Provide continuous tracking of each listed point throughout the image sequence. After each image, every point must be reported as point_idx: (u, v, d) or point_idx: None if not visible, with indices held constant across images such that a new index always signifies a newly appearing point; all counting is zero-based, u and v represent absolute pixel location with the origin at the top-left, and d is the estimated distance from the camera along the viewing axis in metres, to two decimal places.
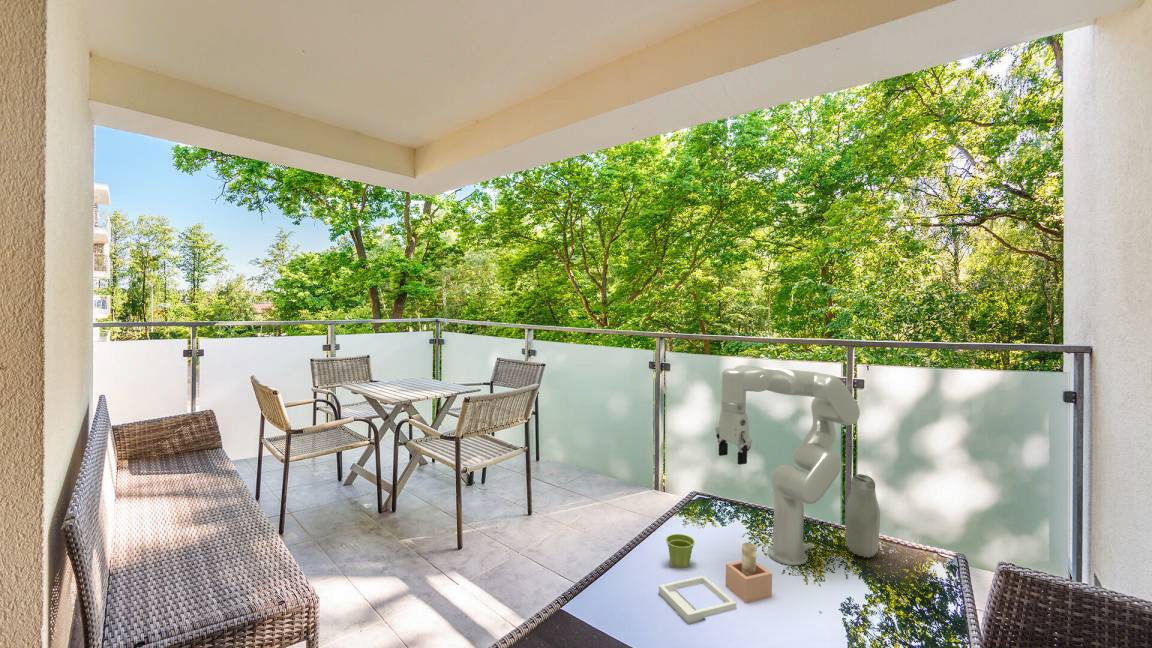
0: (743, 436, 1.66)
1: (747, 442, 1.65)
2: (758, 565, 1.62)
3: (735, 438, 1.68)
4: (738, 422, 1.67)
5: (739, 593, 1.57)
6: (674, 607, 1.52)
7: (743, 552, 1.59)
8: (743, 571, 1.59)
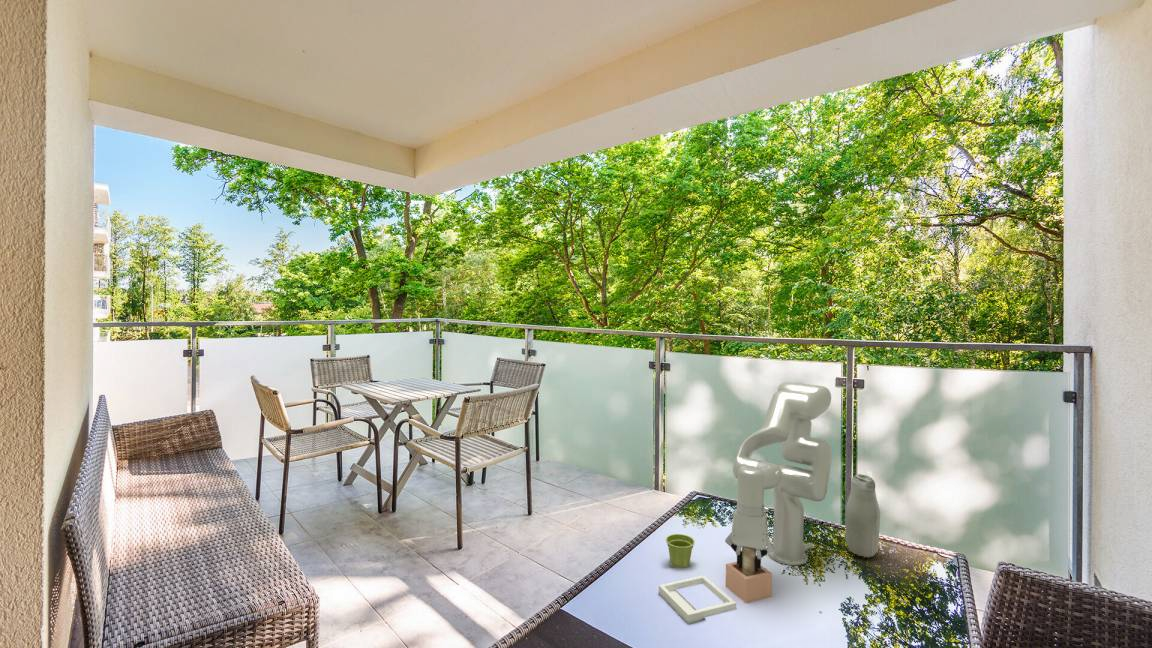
0: (769, 545, 1.56)
1: (770, 549, 1.56)
2: None
3: (762, 543, 1.56)
4: (765, 525, 1.56)
5: (739, 593, 1.57)
6: (674, 607, 1.52)
7: (743, 552, 1.59)
8: (743, 571, 1.59)
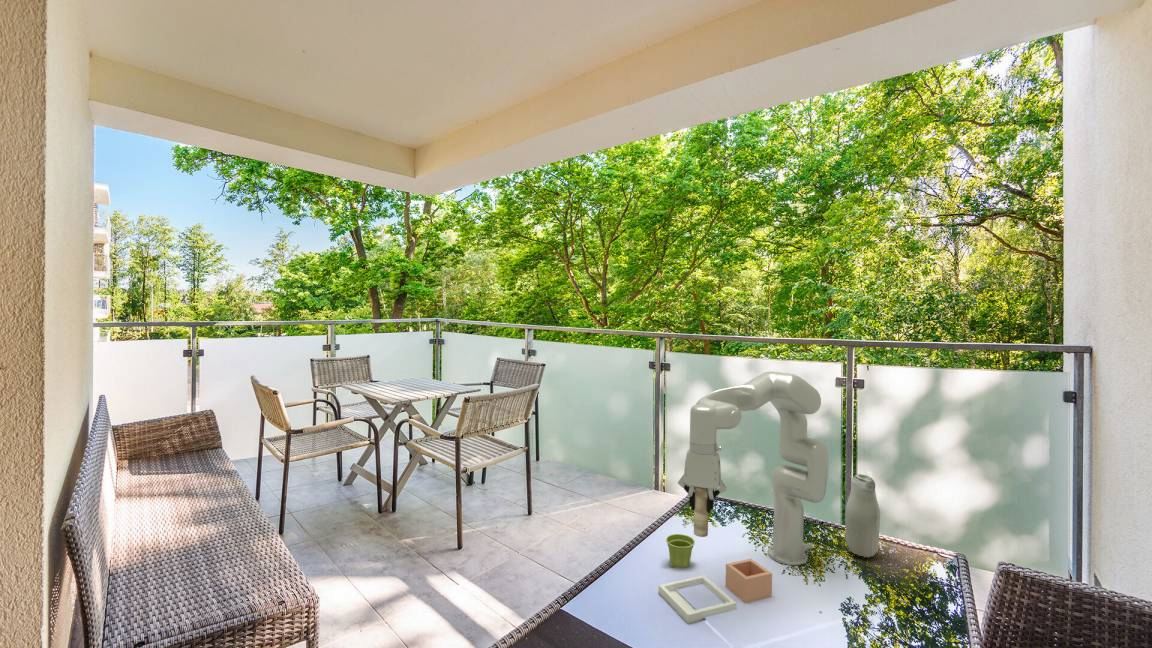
0: (721, 485, 1.51)
1: (722, 489, 1.51)
2: (758, 565, 1.62)
3: (715, 482, 1.51)
4: (717, 464, 1.51)
5: (739, 593, 1.57)
6: (674, 607, 1.52)
7: (695, 493, 1.54)
8: (695, 512, 1.54)
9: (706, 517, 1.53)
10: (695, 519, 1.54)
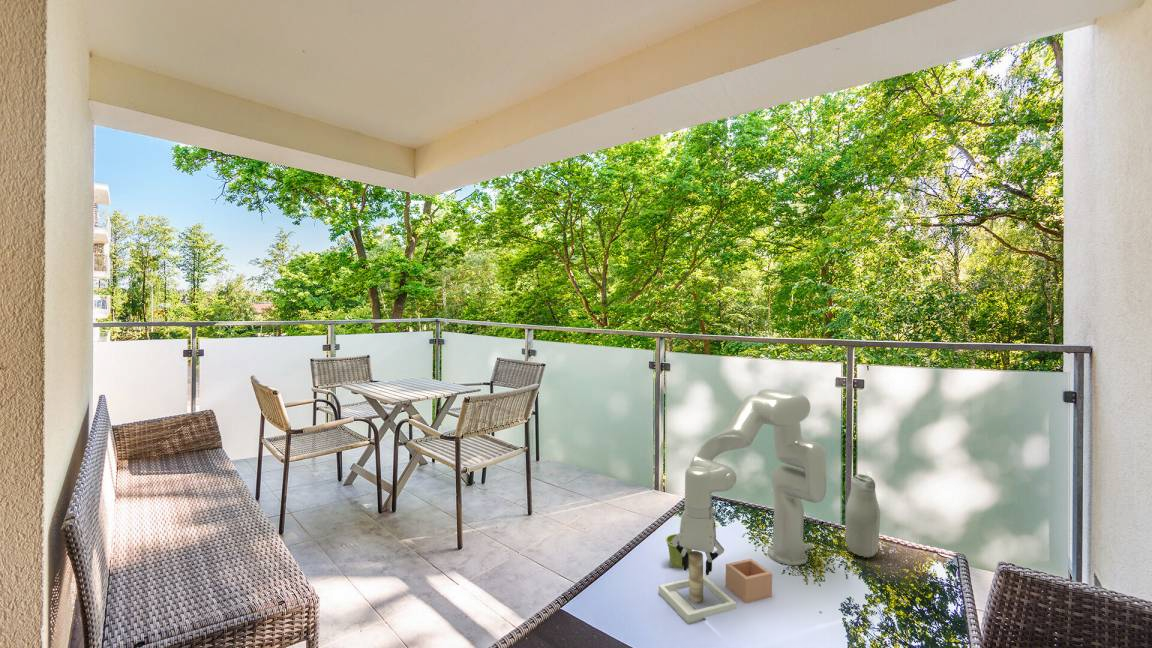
0: (717, 546, 1.52)
1: (720, 551, 1.52)
2: (758, 565, 1.62)
3: (710, 546, 1.51)
4: (712, 527, 1.51)
5: (739, 593, 1.57)
6: (674, 607, 1.52)
7: (689, 561, 1.54)
8: (690, 580, 1.54)
9: (701, 585, 1.54)
10: (690, 587, 1.55)
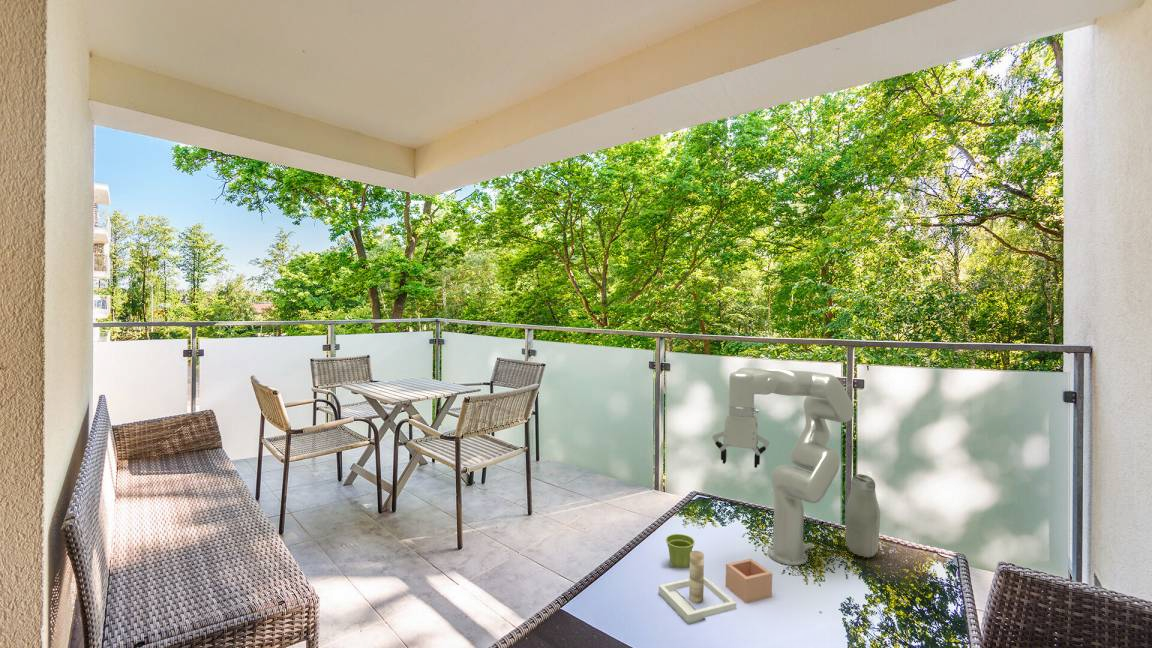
0: (760, 438, 1.65)
1: (766, 443, 1.65)
2: (758, 565, 1.62)
3: (753, 442, 1.65)
4: (755, 425, 1.65)
5: (739, 593, 1.57)
6: (674, 607, 1.52)
7: (690, 560, 1.55)
8: (691, 580, 1.55)
9: (701, 585, 1.54)
10: (690, 586, 1.55)
